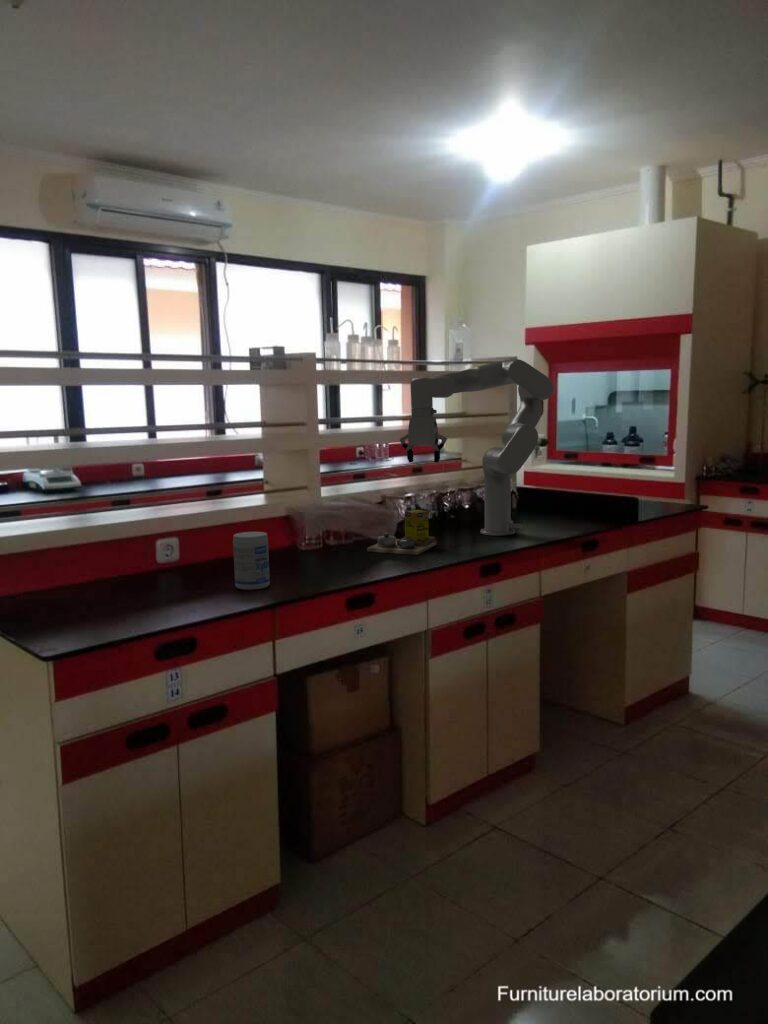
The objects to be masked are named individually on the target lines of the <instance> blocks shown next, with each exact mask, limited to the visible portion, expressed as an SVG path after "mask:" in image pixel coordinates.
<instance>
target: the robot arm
mask: <svg viewBox="0 0 768 1024" xmlns="http://www.w3.org/2000/svg"><path fill="white" fill-rule="evenodd" d="M409 383H410V384H409V385H410V405H411V408H410V411H411V417H409V421H408V428H407V429H408V433H407V434H406V435H404V436H402V437H400V438H399V442H400V444H401V446H402V448H403V449H405V451H406V455H407V457H406V458H407V461H408V463H413V462H414V450H412V449H413V448H414V447H417V446H419V447H423V446H424V447H429V446H431V447H432V448H433V449H434V451H433V456H434V457H433V459H434V461H433V462H434V463H439V462H440V460H441V450H442V449H443V448H444V447H445V444H446V443H447V440H448V438H447V437H446V436H445V435H444V436H443V435H442V434H439V430H438V429H439V428H438V421H437V417H436V416H434V415H435V414H437V412H438V411H437V409H435V408H433V407H434V405H433V401H434V400H433V398H434V399H437V398H439V399H446V398H449V397H452V396H453V395H454V394H459V393H466V392H467V393H468V392H469V393H471V392H472V393H473V392H480V391H484V390H488V389H492V388H493V389H494V388H497V387H501V386H506V385H512V384H515V385H517V386H518V387H517V390H518V391H517V392H518V393H517V394H518V396H519V400H520V402H519V403H520V404H519V408H518V410H517V411H516V414H515V415H514V416H513V417H512V419H511V420H510V422H509V423H508V425H507V426H506V427H505V429H504V430H503V432H502V434H501V442H502V445H504V447H498V446H494V447H491V448H489V449H488V450H486V451H485V452H484V454H483V455H482V456H483V457H482V462H481V463H482V471H483V479H484V480H483V481H484V528H481V529H480V534H482V535H486V536H496V537H497V536H511V535H514V534H515V533H516V530H518V531H519V530H522V529H523V525H522V524H521V523H514V521H513V519H512V517H511V515H512V514H511V511H512V509H511V503H512V496H511V495H512V493H511V492H512V487H511V486H512V485H511V478H510V477H511V476H513V475H515V474H516V473H518V472H519V471H520V470H521V469H522V467H523V466H524V465H525V463H526V462H527V460H528V459H529V457H530V456H531V455H532V453H533V452H534V450H535V449H536V448H537V445H538V441H539V433H538V430H537V429H536V426H537V425H538V424H539V421H540V420H541V417H542V416H543V404H542V402H543V401H546V400H548V399H549V398H550V397H551V396H552V395H553V393H554V389H555V388H554V383H553V381H552V380H551V379H550V377H548V376H547V375H545V374H544V373H542V372H541V371H540V370H538V369H537V368H535V367H534V366H532V365H531V364H530V363H528V362H526V361H525V360H522V359H518V358H517V359H516V358H515V359H507V360H502V361H501V360H499V361H497V362H496V361H495V362H493V363H492V362H491V363H488V364H483V365H479V366H474V367H470V368H466V369H463V370H460V371H459V370H458V371H456V372H455V371H454V372H450V373H445V374H441V375H436V376H433V377H414V378H412V379H410V382H409ZM406 440H407V442H408V443H406ZM439 440H441V442H440V443H439Z"/></svg>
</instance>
